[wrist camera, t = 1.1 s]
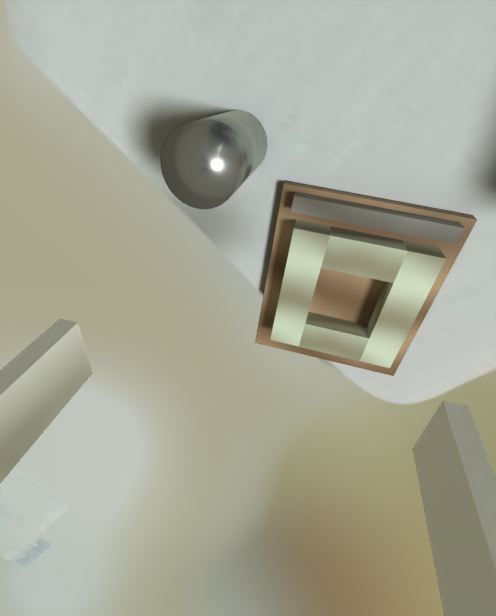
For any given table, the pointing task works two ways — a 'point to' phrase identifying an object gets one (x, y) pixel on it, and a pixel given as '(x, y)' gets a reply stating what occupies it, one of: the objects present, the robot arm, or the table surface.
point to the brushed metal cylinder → (212, 157)
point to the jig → (355, 274)
